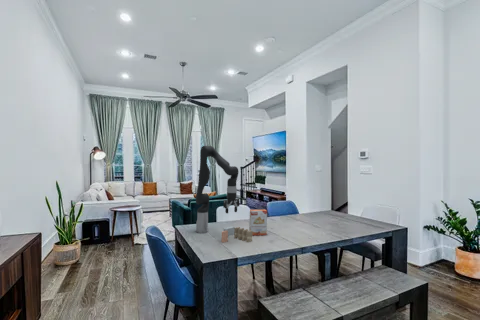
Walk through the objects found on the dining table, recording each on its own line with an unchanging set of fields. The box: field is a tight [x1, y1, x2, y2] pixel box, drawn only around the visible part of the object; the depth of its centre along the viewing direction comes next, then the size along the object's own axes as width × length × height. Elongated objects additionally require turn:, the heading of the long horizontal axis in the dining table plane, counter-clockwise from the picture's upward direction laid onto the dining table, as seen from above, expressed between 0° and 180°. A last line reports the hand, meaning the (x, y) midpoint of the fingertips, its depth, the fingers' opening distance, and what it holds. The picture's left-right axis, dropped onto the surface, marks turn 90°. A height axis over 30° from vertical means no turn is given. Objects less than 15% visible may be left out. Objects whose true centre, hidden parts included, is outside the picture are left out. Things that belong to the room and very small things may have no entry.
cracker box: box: [248, 209, 268, 237], centre depth 211 cm, size 14×6×21 cm, turn 101°
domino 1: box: [221, 230, 229, 243], centre depth 191 cm, size 2×5×8 cm, turn 135°
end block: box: [222, 226, 236, 237], centre depth 209 cm, size 3×10×6 cm, turn 135°
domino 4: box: [241, 228, 249, 242], centre depth 195 cm, size 2×5×8 cm, turn 135°
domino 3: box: [237, 227, 245, 240], centre depth 199 cm, size 2×5×8 cm, turn 135°
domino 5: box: [245, 230, 253, 243], centre depth 192 cm, size 2×5×8 cm, turn 135°
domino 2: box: [233, 226, 241, 239], centre depth 202 cm, size 2×5×8 cm, turn 135°
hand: (231, 212), depth 195 cm, fingers open, 8 cm apart
